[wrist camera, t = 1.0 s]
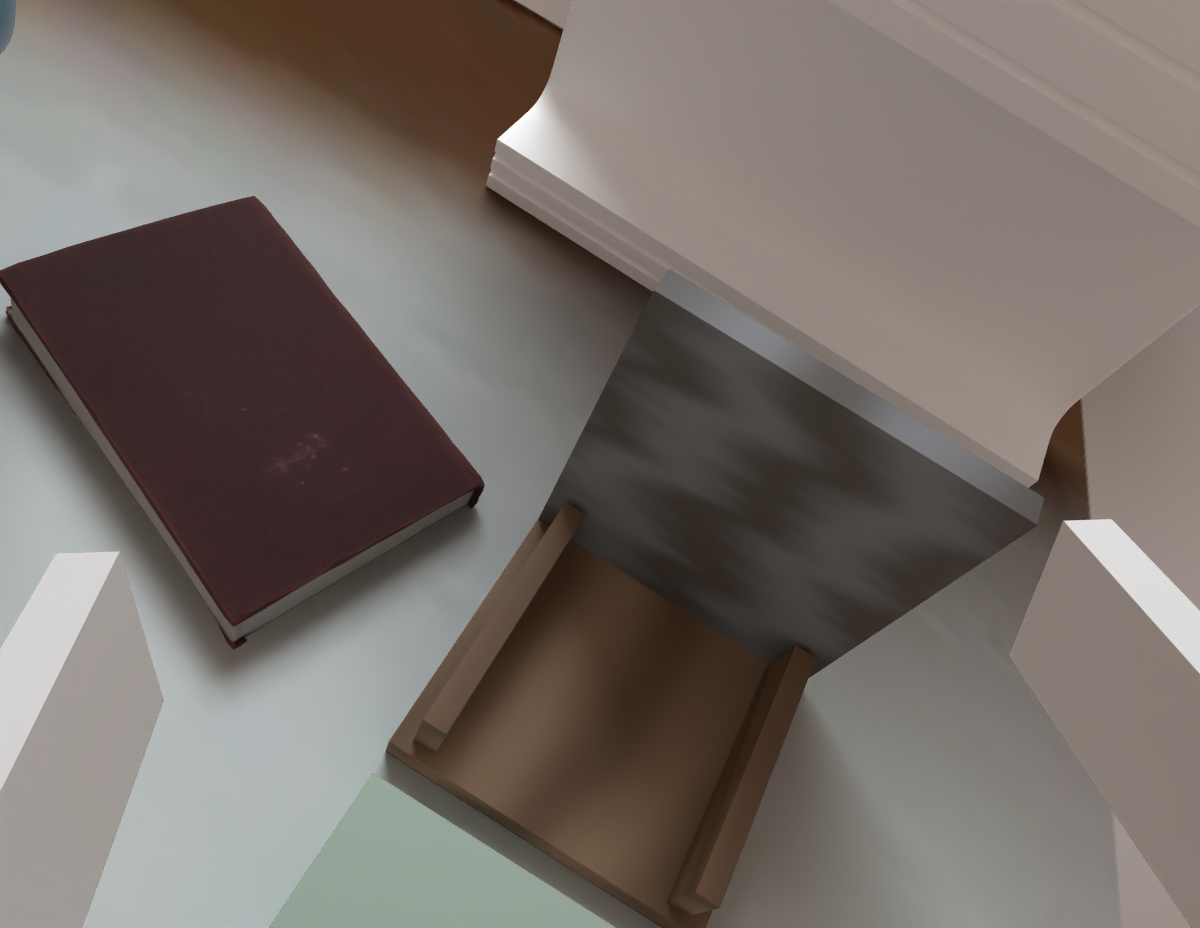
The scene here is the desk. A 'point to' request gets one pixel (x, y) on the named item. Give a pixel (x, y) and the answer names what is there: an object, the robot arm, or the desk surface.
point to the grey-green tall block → (419, 876)
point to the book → (238, 405)
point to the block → (892, 185)
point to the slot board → (694, 600)
